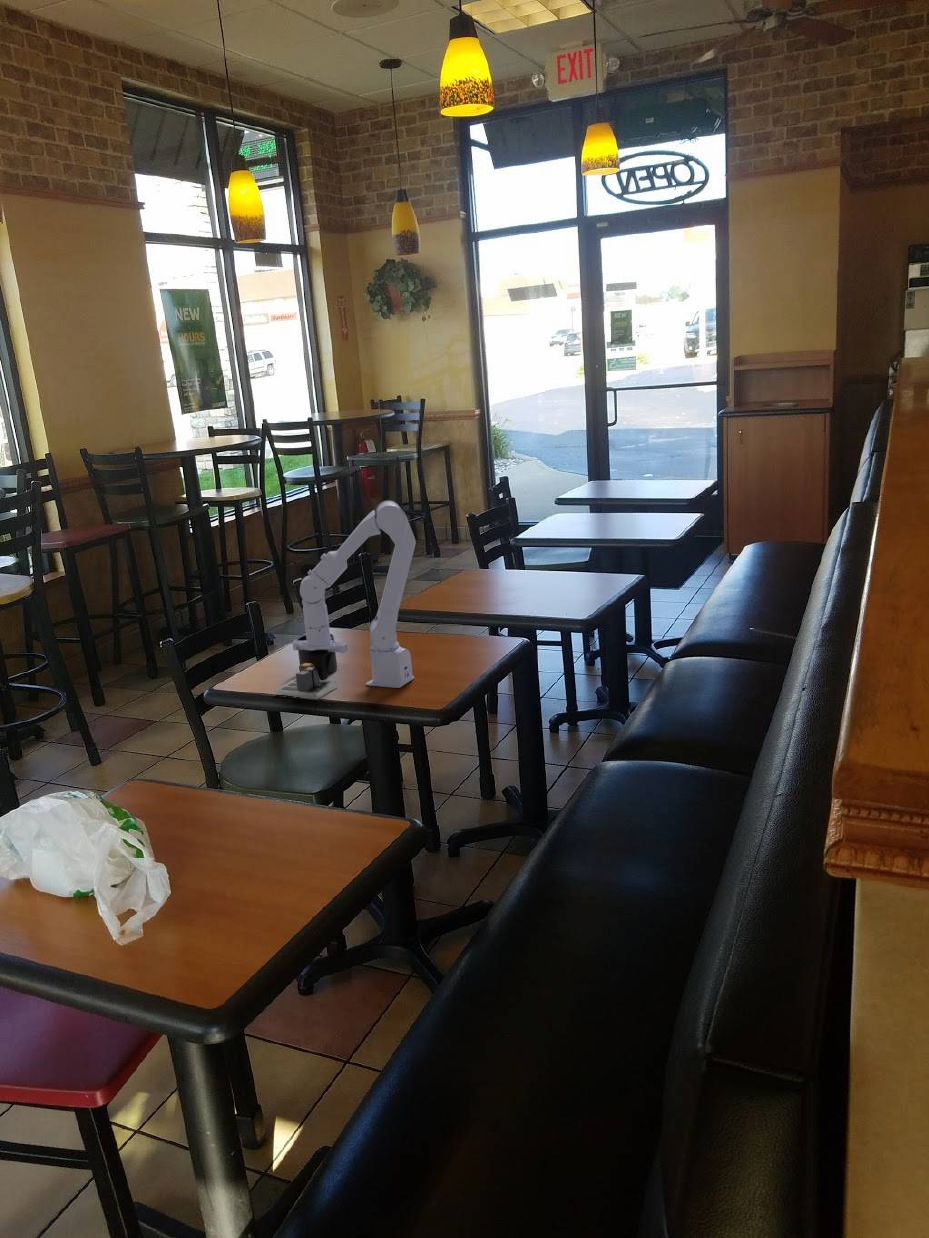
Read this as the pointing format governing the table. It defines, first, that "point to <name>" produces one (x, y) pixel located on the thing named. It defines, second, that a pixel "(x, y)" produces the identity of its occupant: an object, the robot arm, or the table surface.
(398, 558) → the robot arm
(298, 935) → the table surface
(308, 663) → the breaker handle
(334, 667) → the mug
